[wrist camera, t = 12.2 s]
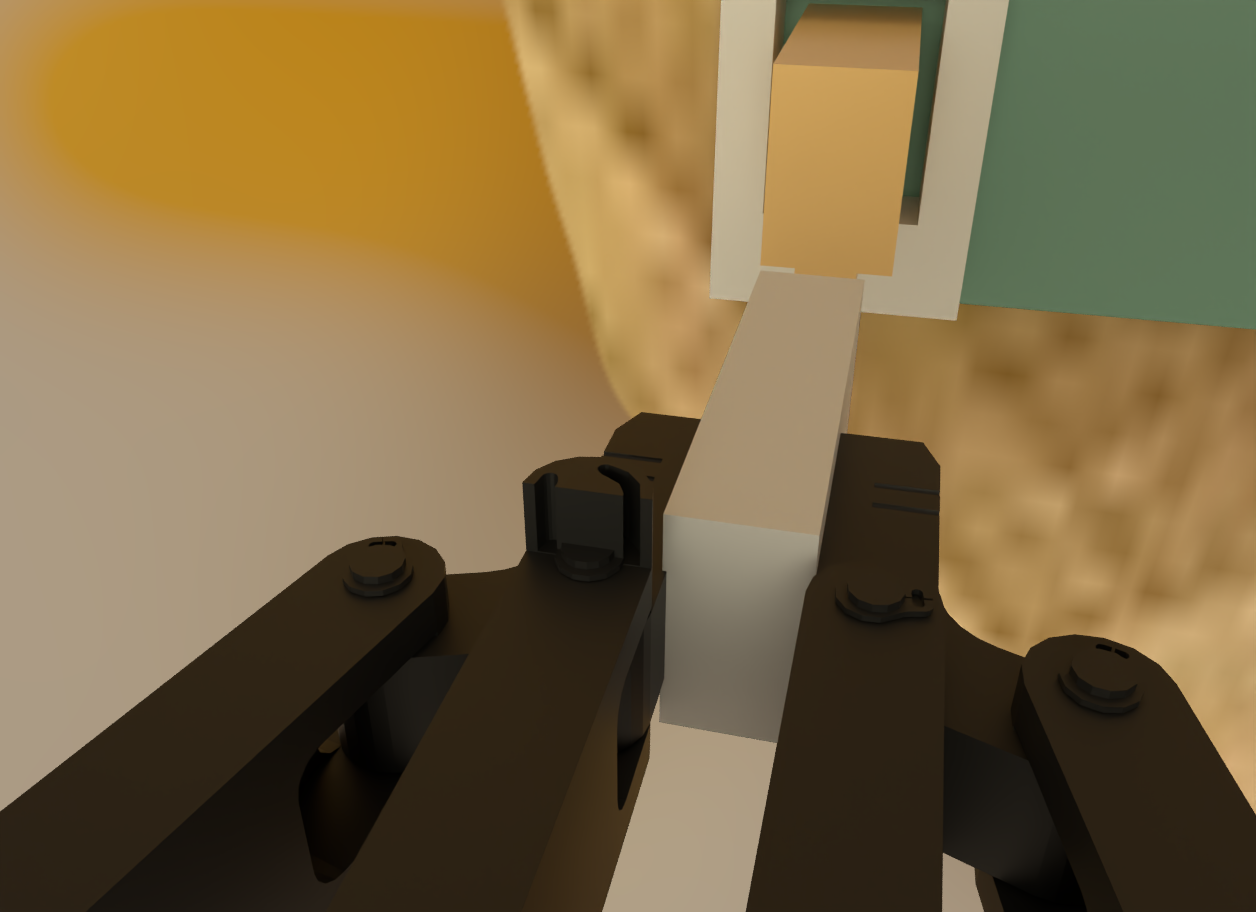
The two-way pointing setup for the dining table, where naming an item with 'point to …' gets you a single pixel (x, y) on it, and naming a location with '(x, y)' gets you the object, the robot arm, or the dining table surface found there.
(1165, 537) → the dining table surface
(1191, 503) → the dining table surface
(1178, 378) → the dining table surface
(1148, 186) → the board
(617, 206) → the dining table surface
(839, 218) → the plug
